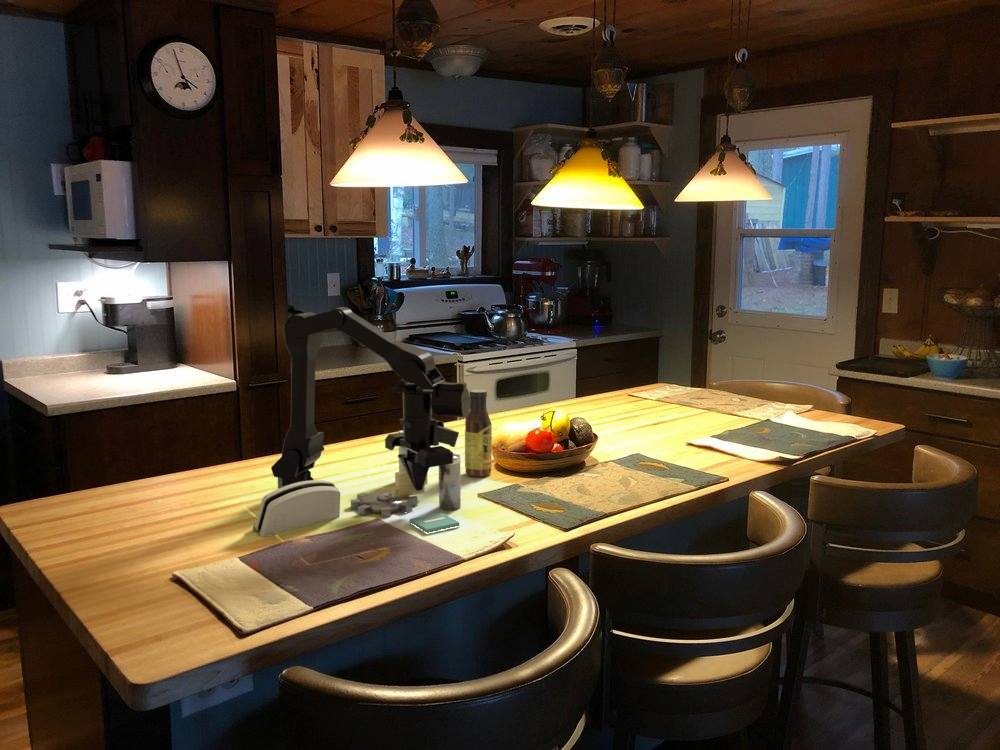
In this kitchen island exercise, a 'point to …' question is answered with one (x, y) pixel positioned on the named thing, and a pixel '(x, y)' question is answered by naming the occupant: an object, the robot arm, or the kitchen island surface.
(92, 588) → the kitchen island surface
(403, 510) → the sprocket
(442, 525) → the pad
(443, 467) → the roller
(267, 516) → the white rounded block
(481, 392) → the sauce bottle
